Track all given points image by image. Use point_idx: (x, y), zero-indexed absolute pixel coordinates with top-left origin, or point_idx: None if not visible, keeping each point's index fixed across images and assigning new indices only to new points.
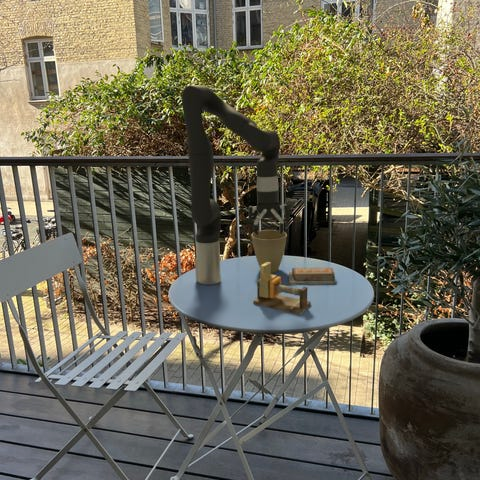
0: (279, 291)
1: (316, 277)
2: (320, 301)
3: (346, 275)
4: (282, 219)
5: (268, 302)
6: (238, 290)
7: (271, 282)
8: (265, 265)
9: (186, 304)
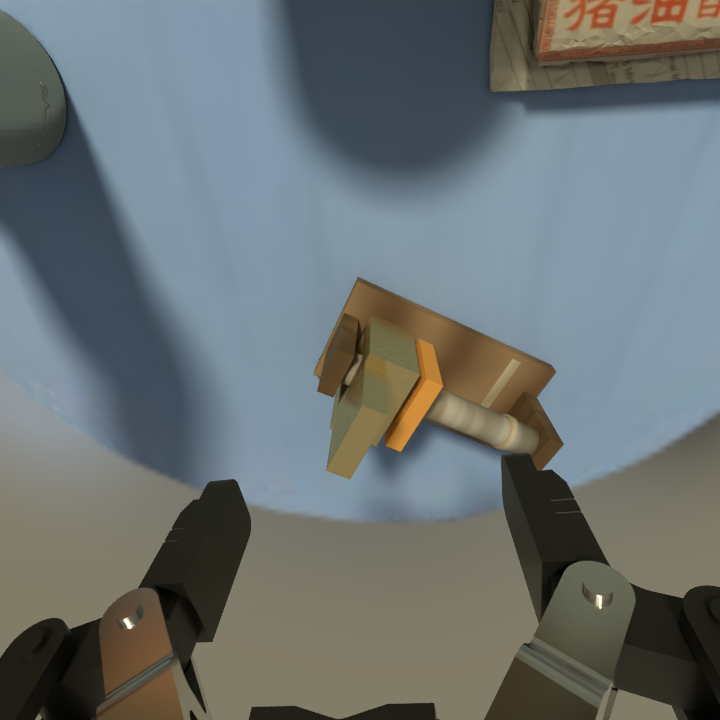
0: None
1: (686, 53)
2: (603, 328)
3: None
4: (621, 675)
5: None
6: (213, 226)
7: (393, 447)
8: (357, 465)
9: (57, 386)
